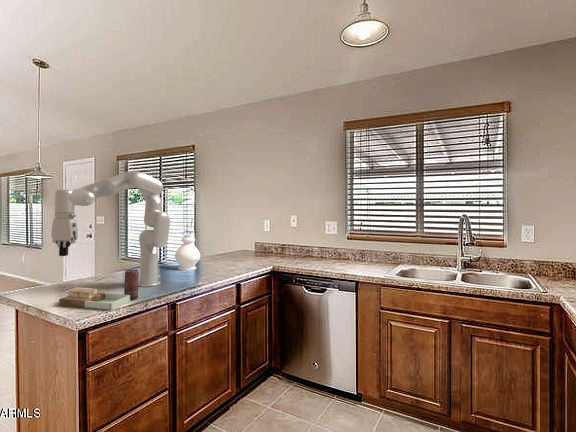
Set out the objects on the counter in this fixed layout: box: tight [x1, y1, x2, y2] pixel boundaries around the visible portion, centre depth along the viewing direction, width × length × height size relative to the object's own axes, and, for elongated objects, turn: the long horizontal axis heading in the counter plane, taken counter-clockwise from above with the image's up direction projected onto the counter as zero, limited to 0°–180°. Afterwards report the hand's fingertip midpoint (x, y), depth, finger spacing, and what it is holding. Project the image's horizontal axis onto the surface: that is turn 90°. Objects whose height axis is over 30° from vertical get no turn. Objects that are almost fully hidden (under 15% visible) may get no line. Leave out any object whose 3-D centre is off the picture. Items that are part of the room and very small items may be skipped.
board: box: [58, 291, 106, 309], centre depth 155 cm, size 14×12×3 cm
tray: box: [84, 292, 131, 311], centre depth 153 cm, size 14×12×3 cm
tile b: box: [79, 287, 98, 298], centre depth 154 cm, size 5×5×3 cm
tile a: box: [67, 287, 87, 297], centre depth 155 cm, size 5×5×3 cm
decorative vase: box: [174, 233, 201, 271], centre depth 244 cm, size 18×18×25 cm
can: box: [123, 269, 140, 301], centre depth 163 cm, size 6×6×14 cm
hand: (63, 255), depth 156 cm, fingers closed
